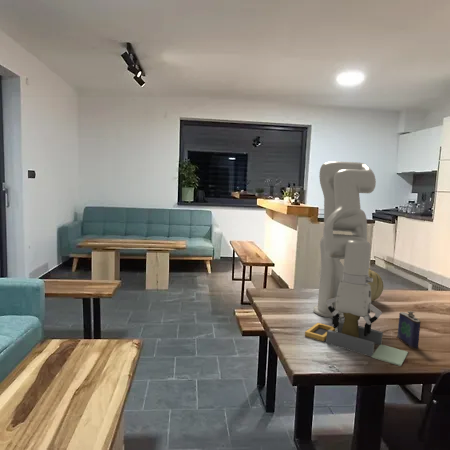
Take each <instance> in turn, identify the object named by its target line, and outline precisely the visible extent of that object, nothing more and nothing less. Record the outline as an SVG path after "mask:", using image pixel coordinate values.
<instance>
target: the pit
mask: <svg viewBox="0 0 450 450" xmlns="http://www.w3.org/2000/svg"><path fill="white" fill-rule="evenodd" d="M336 329H337V328H333V326H332V325H328V324H324V323H320V322H316V323H315V324H313V326H311V327H310V328H309V329H307V330H305V331H304V337H307V338H309V339H314V340H316V341H319V342H325V341H326V339H327V331H328V330H332V331H336ZM336 332H337V331H336Z"/></svg>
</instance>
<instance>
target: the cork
mask: <svg viewBox="0 0 450 450" xmlns="http://www.w3.org/2000/svg"><path fill="white" fill-rule="evenodd" d="M343 316H344V317H343V318H344V320H343V322H344V324H343V328H342V333H343V334H346V335H350V336H354V337H357V338H359V328H358V326H359V320H360V318H361V317H360V316H356V315H353V314H351V313H343Z"/></svg>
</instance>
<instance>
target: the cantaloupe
mask: <svg viewBox="0 0 450 450" xmlns="http://www.w3.org/2000/svg"><path fill="white" fill-rule="evenodd" d="M368 275H369V277H370V278H373V282H368V284H370V287H371V303H372V302H375V301H376V300H377V299H379V298H380V296H381V295H382V293H383V291H384V283H383V282H384V281H383V279H382V277H381V275H380V274H378V273H377V272H375V271H374V270H371V268H370V267H369V272H368Z"/></svg>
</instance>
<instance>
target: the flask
mask: <svg viewBox="0 0 450 450" xmlns="http://www.w3.org/2000/svg"><path fill="white" fill-rule="evenodd" d="M414 313H416V312H415V311H412V310H411V311H407V312H404V311H401V312H399V317H398V324H397V325H398V326H397V327H398V328H397V334H396V338H397V339H398V338H399V339H400V341H401V340H402V341H403V342H402V341H401V342H402V343H404V342H405V343H404V344H406V345H407V344H408V345H409V346H408V345H407V346H408V347H410V349H414V350H418V349H419V342H420V332H421V331H420V330H421V321H420V320H419V319H418V318H417V317H416V316H415V314H414ZM399 339H398V340H399Z"/></svg>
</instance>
